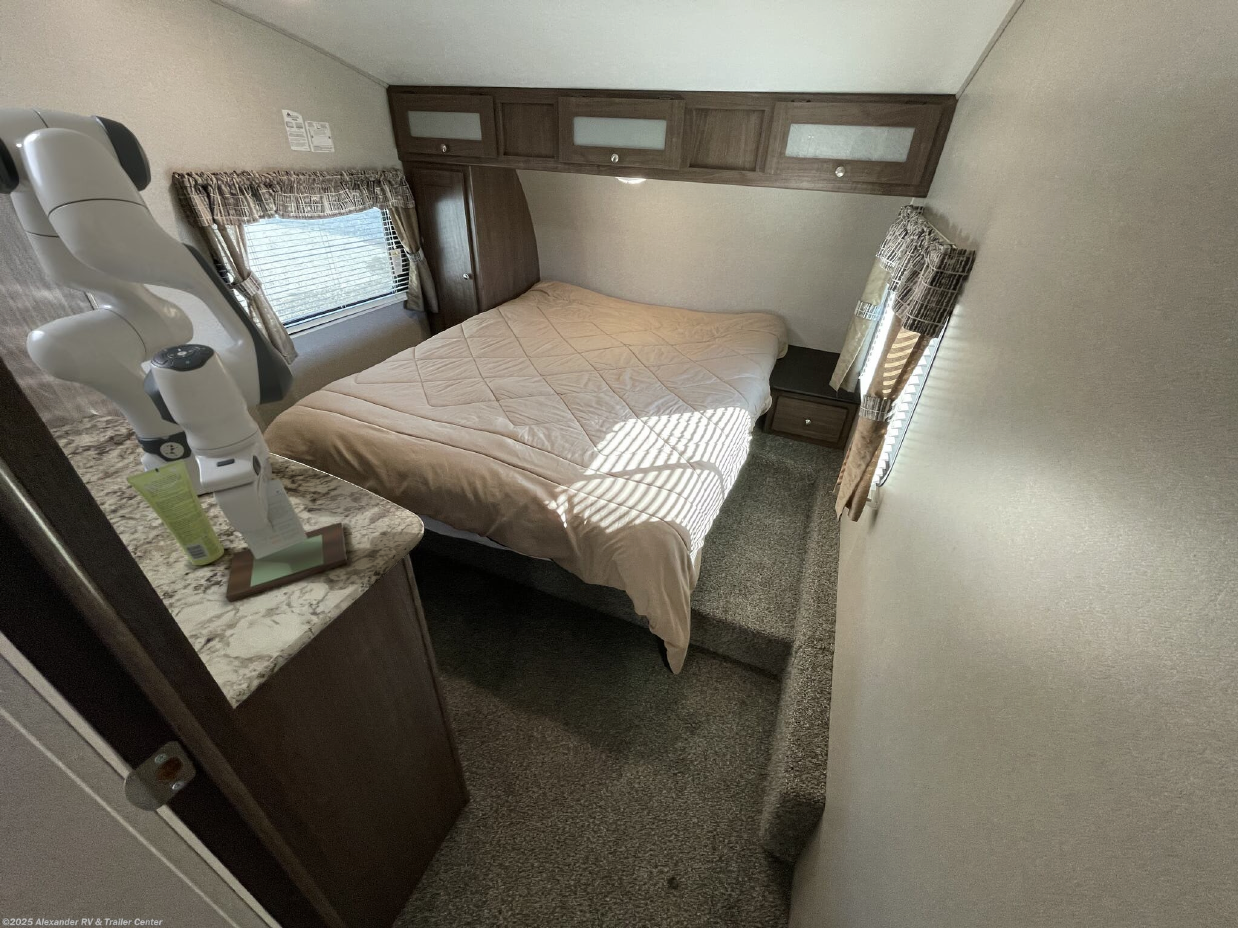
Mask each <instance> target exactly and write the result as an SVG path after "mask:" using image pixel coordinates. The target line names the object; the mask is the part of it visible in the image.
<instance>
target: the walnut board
mask: <svg viewBox="0 0 1238 928" xmlns="http://www.w3.org/2000/svg"><path fill="white" fill-rule="evenodd" d="M305 533H306V536H307V538H308V539H307V540H305V541H302V542H300V543H297V544H295V545H292V546H290V547H287V548H285V549H282V550H280V551H277V552H275V553H272V554H269V555H267V556H264V557H262V558H259V559H256V558H255V557H254V555H253V553H252V551H251V550H250V548H248V549H244V550H241V551H238V552H234V553H233V554H232V558H231V563H230V564H231V565H230V570H229V576H228V580H227V581H228V582H227V588H226V592H225V593H226V594H225V599H226V600H227V601H228V602H229V603H231V602H234V601H236V600H239V599H242V598H245V597H248V596H252V595H254V594H258V593H260V592H264V591H268V590H270V589H273V588H276V587H280V586H282V585H286V584H289V583H291V582H294V581H297V580H300V579H304V578H308V577H310V576H313V575H316V574H319V573H322V572H325V571H328V570H331V569H334V568H338V567H341V566H344V565H347V564H348V557H347V548H346V539H345V530H344V525H343V523H342V522H337V523H334V524H330V525H327V526H323V527H320V528H316V529H313V530H310V531H305Z"/></svg>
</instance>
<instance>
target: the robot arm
mask: <svg viewBox="0 0 1238 928" xmlns="http://www.w3.org/2000/svg"><path fill="white" fill-rule="evenodd" d="M151 182H152V173H151V163H150V159H149V157H148V155H147V153H146V151H145V149H144V147H143V146H142V144H141V143H140V141H139V139H138V138H137V136H136V135H135V134H134V132H133V131H131V129H129V128H128V127H127V126H126V125H125V124H123V123H122V122H118V121H116V120H114V119H110V118H107V117H102V116H99V115H94V114H92V115H90V116H87V115H82V114H79V113H78V114H77V113H72V112H66V111H60V110H55V109H54V110H53V109H47V108H37V107H30V108H20V107H1V106H0V194H3V195H9V196H10V199H11V201H12V204H13V207H14V210H15V213H16V215H17V217H18V220H19V222H20V224H21V226H22V228H23V229H22V230H24V233H25V235H26V237H27V239H28V241H29V243H30V245H31V247H32V249H33V251H34V253H35V255H36V257H37V260H38V262H39V264H40V266H41V268H42V270H43V271H44V273H45V274H46V275H47V276H48V277H49V278H50V279H51V280H52V281H54V282H55V283H57V284H58V285H60V286H63V287H65V288H67V289H70V290H73V291H77V292H82V293H87V294H90V295H91V296H92V297H93V299H94V300H95V302H96V304H97V308H96V309H94V310H90V311H86V312H81V313H77V314H73V315H69V316H65V317H61V318H57V319H55V320H52V321H50V322H48V323H46V324H43V325H41V326H39V327H37V328H35V329H33V330H32V331H30V332H29V333H28V335H27V338H26V350H27V353H28V356H29V358H30V359H31V360H32V362H33V363H34V364H35V365H36V366H37V367H38V368H39V369H40V370H42V371H44V373H46V374H48V375H49V376H51V377H53V378H56V379H58V380H61V381H65V382H69V383H74V384H79V385H83V386H86V387H89V388H90V389H93V390H95V391H97V392H98V393H101V394H102V395H103V396H104V397H106V398H107V399H109V400H110V401H111V402H112V404H114V405H115V407H117V408H118V410H119V411H120V412H121V414H122V415H123V416H124V418H125V419H126V421H127V422H128V424H129V425H130V427H131V429H133V431H134V433H135V435H134V437H135V439H136V442H137V444H138V446H140V448H142V451H143V452H145V453H144V455H143V456H142V458H141V460H140V462H141V464H142V466H143V467H144V471H148V470H151V469H154V468H157V467H160V466H163V465H166V464H169V463H172V462H175V461H178V460H181V459H183V461H184V463H185V466H186V469H187V472H188V475H189V477H190V480H191V482H192V485H193V487H194V490H195V492H196V494H197V496H200V495H204V494H206V493H212V495H213V498H214V500H215V503H216V505H217V506H218V508H219V509H220V511H221V512H222V514H223V515H224V517H225V518H226V520H227V521H228V523H229V525H231V527H232V528H233V529H234V530H235V531H236V532H237V533H239V534H241V533H242V534H244V533H248V532H252V531H256V530H258V531H259V533H260V535H261V536H263V537H265V536H268V535H272V534H273V533H274V526H273V525H272V523H271V521H269V520H268V519H267V517H268V506H269V501H268V484H269V481H272V471H273V470H272V469H273V468H272V465H271V462H270V460H269V456H270V454H271V450H270V448H269V446H268V444H267V441H266V439H265V437H264V436H263V435H264V434H263V433H262V431H261V429H260V427H259V425H258V423H257V422H256V420H255V419H254V418H253V417H252V416H251V415H250V412H249V410H248V408H250V407H254V406H259V405H260V406H261V405H267V404H271V403H275V402H276V403H277V402H282V401H283V400H284V399H285V398H286V397H287V396H288V394H289V393H290V392H291V390H292V388H293V386H294V383H295V379H294V375H293V372H292V371H293V370H292V369H291V367H290V365H289V363H288V361H287V360H286V358H285V357H284V356H283V355H282V354H281V353H280V352H279V350H277V349H276V347H275V346H274V345H273V344H272V343H271V341H270V340H269V339H268V337H266V335H265V334H264V333H263V331H262V330H261V329H260V327H259V326H258V325H257V324H256V322H255V321H254V320H253V318H252V317H251V315H250V314H249V312H247V310H246V308H245V307H244V306H243V305H242V303H241V302H240V301H239V299H238V298H237V296H236V295H235V294H234V292H233V291H232V290H231V288H230V287H229V286H228V284H227V283H226V282H225V281H224V279H223V278H222V277H221V275H220V274H219V273H218V271H217V270H216V269H215V268H214V266H213V265H212V264H211V263H210V261H209V260H208V259H207V258H206V257H205V256H204V255H203V253H201V252H200V251H199V249H197V248H196V247H194V246H193V245H190V244H188V243H184V242H181V241H179V240H177V239H176V238H175V237H173V236H172V235H171V234H170V233H168V232H167V231H166V230H165V229H163V227H162V226H161V225H160V224H159V223H158V222H157V221H156V218H155V217H154V216H153V214H152V212H151V211H150V209H149V207H148V205H147V204H146V202H145V200H144V198H143V196H142V195H141V193H140V192H142V191H145V190H146V189H147V188H148V186H149V185H150V184H151ZM146 285H148V286H149V285H150V286H155V287H162V288H168V289H173V290H178V291H181V292H184V293H187V294H190V295H192V296H194V297H196V298H197V299H199V300H200V301H201V302H202V303H203V304H205V306H206V307H207V308H208V309H209V310H210V312H211V314H212V315H213V316H214V317H215V319H216V320H217V321H218V322H219V324H220V325H221V327H222V328H223V329H224V331H225V332H226V333H227V334H228V336H229V337H230V338H231V340H232V341H233V342H234V344H233V345H232V346H229V347H227V348H222V349H218V350H216V349H214V348H213V347H211V346H209V345H206V344H199V343H189V342H191V341H192V340H193V338H194V333H195V332H194V331H195V330H194V329H195V328H194V325H193V322H192V320H191V318H190V317H189V315H188V314H187V313H186V312H185V310H184V309H183V308H182V307H180V306H179V305H177V304H176V303H174V302H172V301H171V300H168V299H165V298H163V297H161V296H159V295H157V294H156V293H154V292H153V291H151V289H149V288H148V287H147V286H146ZM146 362H149V367H150V369H149V370H148V371H147V372H146V370H145V369H144V368H143V366H142V364H144V363H146Z"/></svg>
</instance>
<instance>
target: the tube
mask: <svg viewBox="0 0 1238 928" xmlns="http://www.w3.org/2000/svg"><path fill="white" fill-rule="evenodd" d="M125 480H126V482H127V483H128V484H129V485H130V486H131V487H132V488H133V489H134V490H135V491H136V492H137V493H138V495H140V496H141V497H142V499H143V500H144V501H145V502H146V504H147V505H148V506H149V507H150V508H151V510H152V511H153V512H154V513H155V514H156V516H157V517H158V518H159V519H160V521H161V522H162V523H163V525H164V526H165V527H166V529H167V530H168V531H169V533H170V535H172V537H173V538H174V540H175V541H176V542H177V544H178V545H179V547H180V548H181V549H182V551H183V552H184V554H185V555H186V557H187V558H188V559H189V561H190V563H191V564H192V565H194V566H204V565H208V564H211V563H213V562H215V561H217V560H218V559H220V558H221V557H222V556H223V555H224V553H225V549H224V546H223V545H222V543H221V542H220V539H219V538H218V536H217V534H216V532H215V530H214V528H213V526H212V523H211V521H210V520H209V518H208V515H207V514H206V513H207V512H205V509H204V508H203V505H202V504H201V501H200V499H199V497H198V496H199V495H197V494H196V492H195V490H194V487H193V485H192V482H191V480H190V477H189V475H188V472H187V469H186V466H185V463H184V461H183V459H181V460H178V461H175V462H172V463H169V464H166V465H163V466H160V467H157V468H154V469H151V470H148V471H146V470H144V471H142V472H138V473H135V474H131V475H129V476H126V477H125Z"/></svg>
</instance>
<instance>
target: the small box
mask: <svg viewBox="0 0 1238 928" xmlns="http://www.w3.org/2000/svg"><path fill="white" fill-rule="evenodd" d="M268 501H269V506H268V517H267V519H268V520H269V521H271V523H272V525H273V526H274V533H273V534H272V535H268V536H265V537H263V536H261V535H260V533H259V531H258V530H256V531H252V532H248V533H244V534H242V533H240V535H241V536H242V538H243V540H244V541H245V543H246V545H247V546H248V549H250V550H251V551H252V553H253V555H254V557H255V558H256V559H259V558H262V557H264V556H267V555H269V554H272V553H275V552H277V551H280V550H282V549H285V548H287V547H290V546H292V545H295V544H297V543H300V542H302V541H305V540H307V539H308V538H307V536H306V531H305V528H304V526H303V524H302V521H301V519H300V517H299V515H298V513H297V511H296V509H295V507H294V505H293V503H292V501H291V499H290V497H289V495H288V494H287V491H286V490H285V487H284V485H283V483H282V481H281V480H280V479H279V478H275V479H273V480H272V479H271V481H269V484H268Z"/></svg>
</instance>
